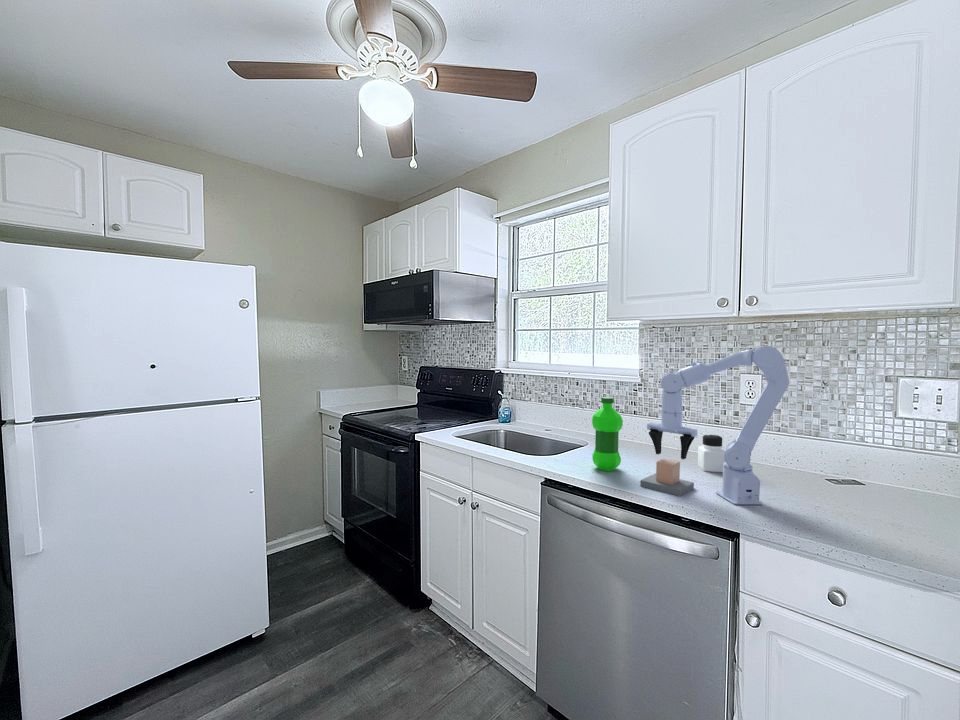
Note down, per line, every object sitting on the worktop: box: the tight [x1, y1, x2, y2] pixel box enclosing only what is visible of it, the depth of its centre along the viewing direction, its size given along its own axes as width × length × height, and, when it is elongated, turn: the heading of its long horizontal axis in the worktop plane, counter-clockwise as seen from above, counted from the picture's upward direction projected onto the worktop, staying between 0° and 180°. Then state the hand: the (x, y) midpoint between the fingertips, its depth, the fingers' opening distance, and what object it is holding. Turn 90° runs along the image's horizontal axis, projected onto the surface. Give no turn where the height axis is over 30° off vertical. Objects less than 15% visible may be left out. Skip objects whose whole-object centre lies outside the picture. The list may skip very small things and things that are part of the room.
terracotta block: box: [655, 458, 681, 485], centre depth 133 cm, size 5×5×6 cm
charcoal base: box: [640, 473, 695, 497], centre depth 132 cm, size 12×10×2 cm
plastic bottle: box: [591, 396, 624, 472], centre depth 151 cm, size 10×10×25 cm
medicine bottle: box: [697, 433, 726, 473], centre depth 151 cm, size 7×7×12 cm
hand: (670, 456), depth 133 cm, fingers open, 7 cm apart
